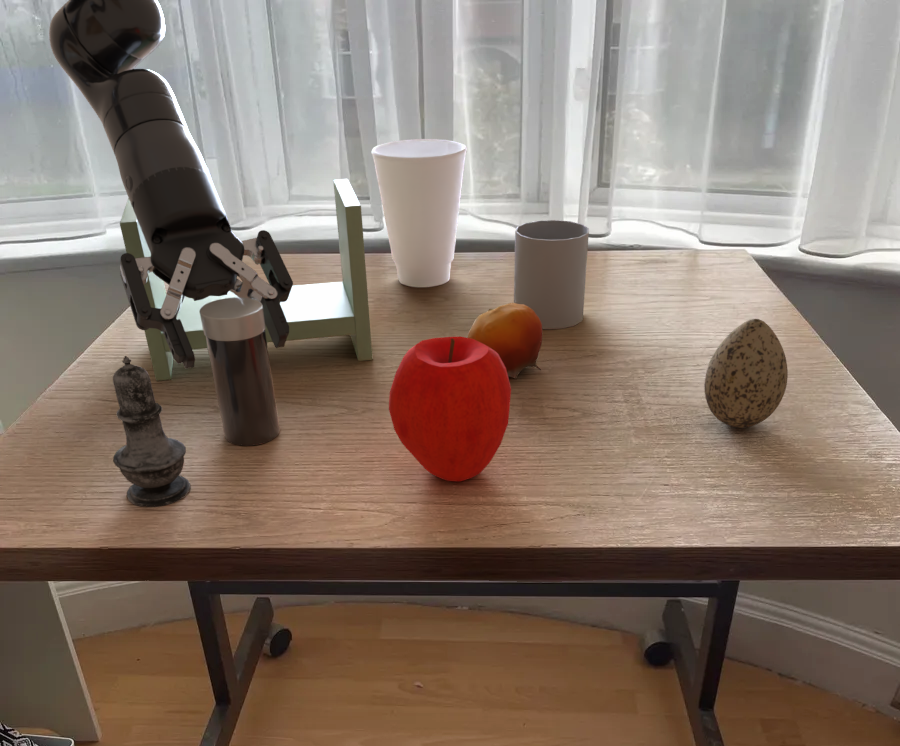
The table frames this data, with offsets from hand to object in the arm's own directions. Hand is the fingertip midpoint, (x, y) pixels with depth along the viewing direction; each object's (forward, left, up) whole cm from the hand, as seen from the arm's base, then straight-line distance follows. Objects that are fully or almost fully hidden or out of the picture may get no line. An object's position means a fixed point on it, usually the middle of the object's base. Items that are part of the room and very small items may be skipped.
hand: (236, 353), depth 80 cm
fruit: (+27, +9, -8) cm, 30 cm away
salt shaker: (-8, -9, -8) cm, 14 cm away
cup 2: (+36, +23, -8) cm, 44 cm away
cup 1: (+24, +41, -8) cm, 49 cm away
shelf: (+2, +21, -8) cm, 23 cm away
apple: (+17, -12, -8) cm, 22 cm away
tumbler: (0, 0, -8) cm, 8 cm away
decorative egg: (+45, -9, -8) cm, 47 cm away
